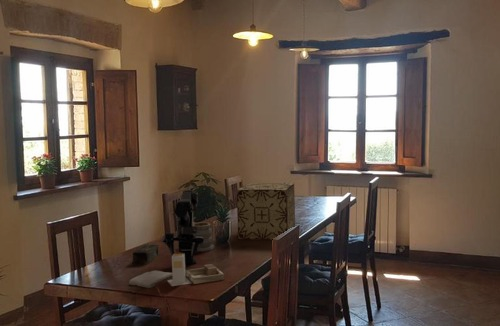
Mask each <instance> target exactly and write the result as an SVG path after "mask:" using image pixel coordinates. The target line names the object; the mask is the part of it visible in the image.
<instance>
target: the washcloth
mask: <svg viewBox="0 0 500 326" xmlns="http://www.w3.org/2000/svg"><path fill="white" fill-rule="evenodd" d="M171 277H173V275H172V272H165V271H162V270H151V271H146V272H144V273H142V274H140V275H139V274H138V275H137V276H134V277H133V278H131V279H130V280H129V282H128V283H129V285H131V286H135V285H137V287H141V288H147V289H149V288H150V289H151V288H153V287H155V286H156V285H158V284H159V283H161V282H164V281H165V280H167V279H169V278H171Z"/></svg>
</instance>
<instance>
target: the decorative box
mask: <svg viewBox="0 0 500 326" xmlns="http://www.w3.org/2000/svg"><path fill="white" fill-rule="evenodd" d="M295 205H296V204H295V183H278V182H277V183H275V182H274V183H267V182H266V183H261V182H260V183H259V182H257V183H256V182H255V183H253V182H252V183H251V182H250V183H247V184H245V185H243V186H241V187H239V188H236V212H237V214H236V215H237V239H238V240H255V239H268V240H267V241H273V240H272V239H273V238H275V237H277V236H278V235H280V234H282V233H284V232H285V231H287V230H288V229H290V228H292V227H295V228H296V214H295V213H296V210H295V209H296V206H295Z"/></svg>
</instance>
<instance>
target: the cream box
mask: <svg viewBox="0 0 500 326" xmlns="http://www.w3.org/2000/svg"><path fill="white" fill-rule="evenodd" d="M171 270H172V272H171V273H172V280H173V284H180V283H185V280H186V278H187V276H186V265H185V254H182V253H174V254H173V256H172V255H171Z"/></svg>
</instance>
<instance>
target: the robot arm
mask: <svg viewBox="0 0 500 326" xmlns="http://www.w3.org/2000/svg"><path fill="white" fill-rule="evenodd" d="M180 196H181V197H180V199H179V200H178V201H177V202H176V204H175V207H174V213H175V218H176V219H177V220H176V221H177V228H176V236H175V235H174V233H171V232H166V233H164V235H163V236H162V239H161V242H162V243H164V244H165V245H166V246H167V247H168V248H167V249H168V250H169V251H170V255H171V257H172V256H173V254H175V249H174V247H175V246H174V244H175V242H177V243H178V252H179V253H181V254H185V266H189V265H195V264H197V262H196V261H195V255H196V253H197V251H198V247H199V246H201V245H202V244H203V243H204V238H203V237H198V236H196V237H195V238H194V235H193V234H196V233H197V227H192V226H193V222H194V212H195V211H196V209H197V205H198V203H199V198H198V195H197V194H196V193H195V192H194V191H193V190H191V189H187V190H183V191H182V194H181V195H180Z"/></svg>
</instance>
